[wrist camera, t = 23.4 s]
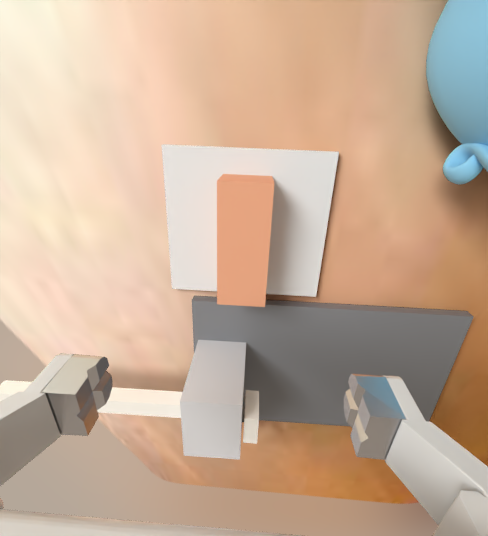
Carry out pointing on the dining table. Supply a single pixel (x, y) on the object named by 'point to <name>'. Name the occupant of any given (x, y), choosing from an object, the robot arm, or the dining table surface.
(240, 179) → the salmon orange rectangular block
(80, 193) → the dining table surface
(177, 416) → the bar
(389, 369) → the board
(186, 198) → the white mat
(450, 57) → the decorative pot
